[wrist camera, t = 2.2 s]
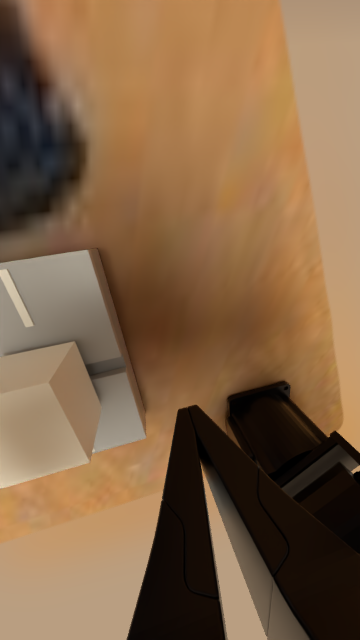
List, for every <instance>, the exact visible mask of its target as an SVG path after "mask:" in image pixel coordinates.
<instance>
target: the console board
mask: <svg viewBox="0 0 360 640" xmlns="http://www.w3.org/2000/svg"><path fill="white" fill-rule="evenodd" d="M73 341H75V343H76V345H77V348H78V350H79V353H80V355H81V358H82V360H83V362H84V365H85V367H86V370H87V372H88V375H89V377H90V380H91V382H92V385H93V387H94V389H95V392H96V394H97V397H98V399H99V402H100V404H101V407H102V409H101V414H100V419H99V423H98V428H97V433H96V437H95V442H94V447H93V451H92V454H93V453H96V452H100V451H103V450H107V449H110V448H114V447H117V446H121V445H124V444H128V443H131V442H135V441H138V440H142V439H145V438H146V420H145V410H144V406H143V403H142V399H141V396H140V393H139V389H138V386H137V382H136V379H135V375H134V372H133V369H132V365H131V362H130V358H129V355H128V351H127V348H126V345H125V341H124V338H123V334H122V331H121V328H120V324H119V321H118V317H117V314H116V310H115V307H114V304H113V300H112V297H111V293H110V290H109V286H108V283H107V280H106V276H105V273H104V269H103V266H102V262H101V259H100V256H99V252H98V249H97V248H95V249H88V250H81V251H75V252H68V253H62V254H55V255H49V256H43V257H36V258H30V259H23V260H17V261H10V262H4V263H0V357H3V356H8V355H12V354H17V353H22V352H26V351H31V350H36V349H40V348H45V347H50V346H54V345H59V344H64V343H69V342H73Z"/></svg>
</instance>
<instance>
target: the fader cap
mask: <svg viewBox="0 0 360 640" xmlns="http://www.w3.org/2000/svg"><path fill="white" fill-rule="evenodd" d="M101 409H102V407H101V404H100V402H99V399H98V397H97V394H96V392H95V389H94V387H93V385H92V382H91V380H90V377H89V375H88V372H87V370H86V367H85V365H84V362H83V360H82V358H81V355H80V353H79V350H78V348H77V345H76V343H75V341H73V342H69V343H64V344H59V345H54V346H50V347H45V348H40V349H36V350H31V351H26V352H22V353H17V354H12V355H8V356H3V357H0V488H1V489H2V488H5V487H9V486H12V485H15V484H19V483H22V482H26V481H29V480H32V479H36V478H39V477H43V476H46V475H49V474H53V473H56V472H60V471H63V470H66V469H70V468H73V467H77V466H80V465H83V464H87V463H90V461H91V456H92V451H93V447H94V442H95V437H96V433H97V428H98V423H99V419H100V414H101Z"/></svg>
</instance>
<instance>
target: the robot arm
mask: <svg viewBox="0 0 360 640" xmlns="http://www.w3.org/2000/svg"><path fill="white" fill-rule="evenodd" d="M289 397H290V385H289V384H288V383H287V382H281V383H277V384H274V385H270V386H267V387H263V388H259V389H256V390H252V391H248V392H245V393H241V394H238V395H234V396H231V397H229V398H228V401H227V403H228V417H227V419H226V424H227V434H226V433H225V432H224V431H223V430H222V429H221V428H220V427H219V426H218V425H217V424H216V423H215V422H214V421H213V420H212V419H211V418H210V417H209V416H208V415H207V414H206V413H205V412H204V411H203V410H202V409H201V408H200V407H199V406H197V405H192V406H189V407H188V408H187V407H185V408H181V409H179V410H178V412H177V418H176V424H175V429H174V435H173V440H172V446H171V451H170V457H169V462H168V468H167V474H166V479H165V485H164V490H163V496H162V501H161V506H160V512H159V517H158V522H157V527H156V531H155V537H154V541H153V544H152V548H151V553H150V556H149V560H148V564H147V568H146V571H145V575H144V579H143V582H142V586H141V590H140V593H139V597H138V600H137V604H136V608H135V611H134V615H133V619H132V622H131V626H130V629H129V633H128V637H127V640H228V639H227V633H226V627H225V620H224V614H223V607H222V600H221V594H220V587H219V581H218V575H217V567H216V561H215V555H214V548H213V541H212V535H211V528H210V522H209V515H208V508H207V502H206V495H205V489H204V482H203V476H202V469H201V465H202V468H203V471H204V473H205V476H206V478H207V481H208V483H209V486H210V489H211V491H212V494H213V497H214V499H215V502H216V505H217V507H218V510H219V513H220V515H221V518H222V521H223V523H224V526H225V528H226V531H227V533H228V536H229V539H230V542H231V544H232V547H233V550H234V552H235V555H236V557H237V560H238V563H239V565H240V568H241V571H242V573H243V576H244V579H245V581H246V584H247V587H248V589H249V592H250V594H251V597H252V599H253V602H254V605H255V608H256V610H257V613H258V616H259V618H260V621H261V623H262V626H263V629H264V631H265V634H266V636H267V637H268V638H267V639H268V640H360V471H359V472H355V473H354V474H352V472H351V471H352V470H353V469H355V468H356V467H357V466H359V465H360V453H359V452H358V451H357V450H356V449H355V448H354V447H352V446H351V445H350V444H349V443H348V442H347V441H346V440H345V439H344V438H343V437H342V436H341V435H340V434H339V433H337V432H336V431H333V432H332V433H331V434H330V437H329V438H328V437H327V436H326V435H325V434H324V433H323V432H322V431H321V430H320V429H319V428H318V427H317V426H316V425H315V424H314V423H313V422H312V421H311V420H310V419H309V418H308V417H307V416H306V415H305V413H304V412H303V411H302V410H301V409H300V408H299V407H298V406H297V405H296V404H295V403H294V402H293V401H292V400H291V399H290V398H289ZM200 462H201V463H200Z"/></svg>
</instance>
